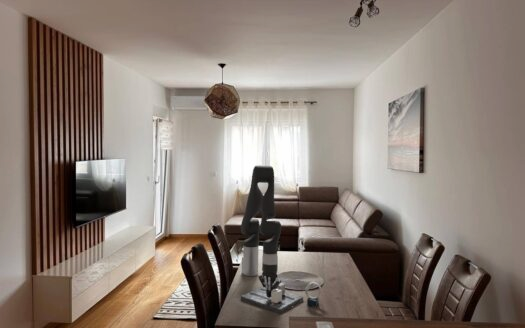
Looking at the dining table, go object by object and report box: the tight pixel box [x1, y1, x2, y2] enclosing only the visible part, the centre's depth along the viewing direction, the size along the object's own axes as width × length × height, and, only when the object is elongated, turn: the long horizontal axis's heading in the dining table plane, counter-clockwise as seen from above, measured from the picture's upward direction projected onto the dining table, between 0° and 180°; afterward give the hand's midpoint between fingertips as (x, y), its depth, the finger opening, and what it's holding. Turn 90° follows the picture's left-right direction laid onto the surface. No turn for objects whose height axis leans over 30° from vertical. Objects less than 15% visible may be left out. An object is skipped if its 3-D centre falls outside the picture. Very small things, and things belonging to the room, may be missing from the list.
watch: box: [304, 280, 322, 308], centre depth 181 cm, size 6×8×11 cm
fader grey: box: [276, 282, 286, 295], centre depth 187 cm, size 3×4×5 cm
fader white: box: [271, 289, 282, 303], centre depth 179 cm, size 3×4×5 cm
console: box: [240, 286, 304, 315], centre depth 185 cm, size 24×20×2 cm
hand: (269, 296), depth 181 cm, fingers closed
